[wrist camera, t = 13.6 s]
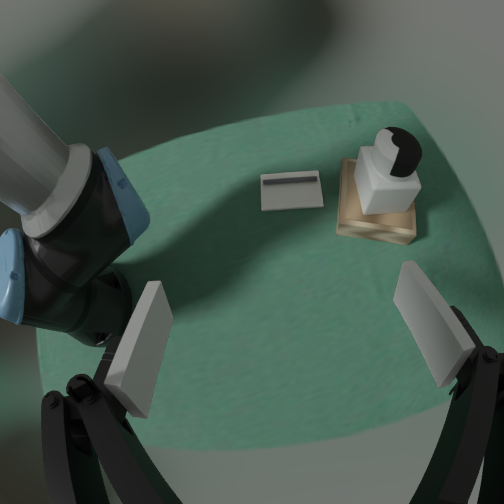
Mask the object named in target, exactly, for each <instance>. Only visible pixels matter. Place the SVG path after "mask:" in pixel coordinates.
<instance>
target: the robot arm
mask: <svg viewBox="0 0 504 504" xmlns="http://www.w3.org/2000/svg"><path fill="white" fill-rule="evenodd" d="M0 201H2V202H4V203H5V204H6V205H8V206H9V207H10V208H12V209H13V210H15V211H17V212H18V213H19V214H21V220H22V226H23V230H24V232H22V233H21V232H20V230H18V229H13V228H11V229H8V230H6V231H5V232H4V233H3V234H2V236H1V237H0V317H1V318H3V319H6V320H9V321H12V322H14V323H15V324H17V325H19V324H22V325H26V326H32V327H36V328H42V329H47V330H53V331H59V332H65V333H67V334H69V335H70V336H72V337H73V338H75V339H76V340H78V341H80V342H81V343H83V344H85V345H88V346H91V347H106V350H105V354H103V357H102V360H101V361H100V363H99V366H98V368H97V371H96V373H95V375H94V378H93V380H92V379H91V378H90V377H89V376H88V375H86V374H78V375H75V376H74V377H72V378H71V379H70V381H69V382H68V384H67V387H66V392H67V394H68V395H69V396H65V397H64V396H63V395H62V394H61V393H60V392H58V391H50V392H48V393H47V394H46V395H45V396H44V398H43V399H42V405H41V428H42V448H43V449H42V450H43V461H44V469H45V478H46V485H47V490H48V496H49V501H50V504H110V503H109V500H108V496H107V493H106V489H105V486H104V482H103V478H102V474H101V470H100V465H99V461H98V458H99V460H100V462H101V465H102V467H103V469H104V471H105V473H106V475H107V477H108V478H109V480H110V482H111V484H112V486H113V488H114V490H115V491H116V493H117V495H118V497H119V498H120V500H121V502H122V503H123V504H182V502H181V501H180V499H179V498H178V497H177V496H176V494H175V493H174V492H173V490H172V489H171V488H170V486H169V485H168V484H167V482H166V481H165V479H164V478H163V477H162V475H161V474H160V472H159V471H158V470H157V468H156V467H155V465H154V464H153V462H152V460H151V459H150V457H149V456H148V454H147V453H146V451H145V449H144V448H143V446H142V444H141V443H140V441H139V439H138V438H137V436H136V434H135V433H134V431H133V429H132V427H131V425H130V424H129V422H128V420H127V419H126V418H125V416H126V412H127V411H128V412H129V413H130V415H131V416H133V417H139V418H146V419H147V418H148V413H149V409H150V405H151V401H152V397H153V393H154V389H155V385H156V381H157V377H158V373H159V369H160V365H161V362H162V358H163V354H164V351H165V347H166V344H167V340H168V337H169V333H170V330H171V326H172V323H173V320H174V318H173V315H172V312H171V309H170V306H169V303H168V301H167V298H166V295H165V292H164V289H163V286H162V282H161V281H148V283H147V285H146V287H145V289H144V291H143V293H142V295H141V297H140V299H139V301H138V304H137V306H136V308H135V310H134V312H133V314H132V317H131V319H130V315H131V307H132V300H131V293H130V289H129V286H128V283H127V281H126V279H125V278H124V276H123V275H122V274H121V273H120V272H119V271H117V270H116V269H114V268H112V267H110V266H109V265H110V264H111V263H112V262H113V261H114V260H115V259H116V258H118V257H119V256H120V255H121V254H122V253H123V252H124V251H125V250H127V249H128V248H129V247H130V246H132V245H133V244H134V241H135V240H136V239H137V238H138V237H139V236H140V235H141V234H142V233H143V232H144V231H145V230H146V229H147V228H148V226H149V224H150V215H149V212H148V210H147V209H146V207H145V205H144V204H143V202H142V200H141V199H140V197H139V195H138V194H137V192H136V191H135V189H134V187H133V186H132V184H131V183H130V181H129V179H128V178H127V176H126V175H125V173H124V171H123V170H122V168H121V166H120V165H119V163H118V162H117V160H116V159H115V157H114V155H113V154H112V153H111V151H110V150H109V149H108V148H107V147H105V148H103V149H101V150H98V151H97V152H96V154H94V153H93V152H92V151H91V150H90V149H89V148H88V147H87V146H86V145H84V144H74V145H69V146H66V145H65V144H64V143H63V142H62V141H61V140H60V139H59V137H58V136H57V135H56V134H55V133H53V131H52V130H51V129H50V128H49V127H48V126H47V125H46V124H45V123H44V122H43V121H42V120H41V118H40V117H39V116H38V115H37V114H36V113H35V112H34V111H33V110H32V109H31V108H30V107H29V105H28V104H27V103H26V102H25V101H24V100H23V99H22V98H21V96H20V95H19V94H18V93H17V92H16V91H15V89H14V88H13V87H12V86H11V85H10V84H9V83H8V81H7V80H6V79H5V78H4V77H3V75H2V74H1V73H0ZM393 301H394V303H395V304H396V306H397V308H398V310H399V311H400V313H401V315H402V317H403V319H404V320H405V322H406V324H407V326H408V328H409V330H410V331H411V333H412V335H413V337H414V339H415V341H416V343H417V345H418V347H419V349H420V351H421V353H422V355H423V357H424V359H425V361H426V363H427V365H428V367H429V369H430V371H431V373H432V376H433V378H434V380H435V382H436V384H437V387H438V388H441V387H444V386H446V385H449V384H451V382H452V381H453V379H454V378H455V377H456V378H457V380H458V382H457V383H456V384H455V386H454V387H453V388H452V390H451V391H450V393H449V395H451V394H452V392H453V391H454V393H453V397H452V400H451V404H450V408H449V411H448V414H447V417H446V421H445V424H444V427H443V430H442V432H441V435H440V438H439V441H438V443H437V446H436V448H435V451H434V453H433V456H432V458H431V461H430V463H429V465H428V467H427V470H426V472H425V474H424V476H423V478H422V480H421V482H420V484H419V486H418V488H417V490H416V492H415V494H414V496H413V497H412V499H411V501H410V503H409V504H468V499H469V497H470V495H471V492H472V490H473V487H474V485H475V482H476V479H477V476H478V473H479V470H480V467H481V464H482V461H483V457H484V465H483V473H482V480H481V486H480V491H479V497H478V501H477V504H504V353H497V351H496V350H495V349H494V348H492V347H490V346H484V345H483V344H482V342H481V341H480V339H479V337H478V336H477V334H476V333H475V331H474V330H473V328H472V327H471V326H470V324H469V323H468V321H467V320H466V318H465V317H464V315H463V314H462V313H461V311H459V310H458V309H457V308H456V307H454V306H450V307H449V305H448V304H447V303H446V301H445V300H444V298H443V297H442V296H441V294H440V293H439V292H438V290H437V289H436V288H435V286H434V285H433V284H432V283H431V281H430V280H429V279H428V277H427V276H426V275H425V274H424V272H423V271H422V270H421V269H420V267H419V266H418V265H417V264H416V263H415V261H414V260H413V261H404V262H403V263H402V267H401V271H400V275H399V279H398V283H397V287H396V291H395V295H394V298H393ZM129 319H130V321H129ZM128 322H129V323H128ZM127 325H128V326H127ZM126 327H127V328H126ZM125 329H126V330H125ZM124 331H125V332H124ZM123 333H124V335H123V336H122V334H123ZM484 454H485V455H484Z"/></svg>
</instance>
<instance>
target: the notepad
mask: <svg viewBox="0 0 504 504" xmlns="http://www.w3.org/2000/svg"><path fill="white" fill-rule="evenodd" d="M318 207H324V205H323V198H322V191H321V184H320V178H319V172H318V171H302V172H287V173H275V174H263V175H261V210H262V211H273V210H287V209H301V208H318Z"/></svg>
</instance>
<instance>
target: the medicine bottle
mask: <svg viewBox="0 0 504 504" xmlns="http://www.w3.org/2000/svg"><path fill="white" fill-rule="evenodd" d="M421 157H422V149H421V146H420V144H419V142H418V141H417V139H416V138H415V137H414V136H413V135H412V134H410V133H409V132H407V131H406V130H403V129H401V128H397V127H388V128H384V129H382V130H380V131H379V132H378V133H377V135H376V139H375V143H374V146H361V147H360V151H359V155H358V159H357V163H356V167H355V172H354V179H355V183H356V186H357V190H358V194H359V198H360V203H361V207H362V211H363V214H364V215H372V214H386V213H402V212H406V211H407V209H408V208H409V206H410V205H411V203H412V202H413V200H414V199H415V197H416V196H417V194H418V193H419V191H420V190H421V184H420V181H419V178H418V176H417V173H416V170H415V169H416V167H417V165H418V163H419V162H420V160H421Z"/></svg>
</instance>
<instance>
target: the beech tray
mask: <svg viewBox="0 0 504 504" xmlns="http://www.w3.org/2000/svg"><path fill="white" fill-rule="evenodd" d="M356 163H357V159H351V158H344V157H343V159H342V165H341V171H340V188H339V204H338V217H337V229H336V235H343V236H350V237H357V238H364V239H370V240H377V241H383V242H390V243H396V244H402V245H408V244H409V243H410V242H411V241H412V240H413V239H414V238H415V237H416V215H415V201H414V200H413V202H412V203H411V205H410V206H409V208H408V209H407V211H406V212H402V213H386V214H372V215H364V214H363V211H362V207H361V203H360V198H359V194H358V190H357V186H356V183H355V179H354V172H355V167H356Z"/></svg>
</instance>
